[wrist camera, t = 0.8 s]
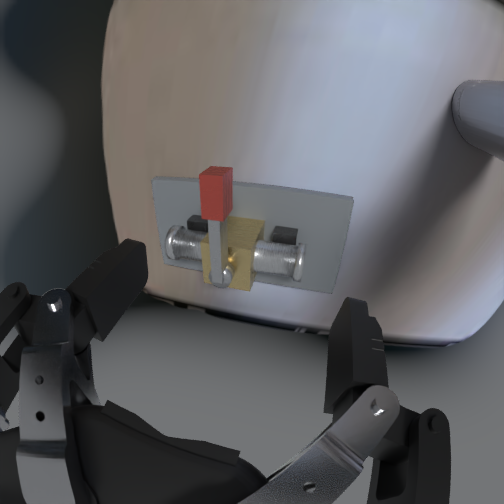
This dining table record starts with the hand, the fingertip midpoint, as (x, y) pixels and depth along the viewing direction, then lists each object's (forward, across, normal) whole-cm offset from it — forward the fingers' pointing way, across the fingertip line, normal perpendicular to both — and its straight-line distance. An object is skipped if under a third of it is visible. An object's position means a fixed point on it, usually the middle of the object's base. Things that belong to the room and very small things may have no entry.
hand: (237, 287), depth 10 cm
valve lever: (+17, +5, +8) cm, 19 cm away
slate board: (+26, +4, +13) cm, 30 cm away
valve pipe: (+25, +4, +13) cm, 28 cm away
